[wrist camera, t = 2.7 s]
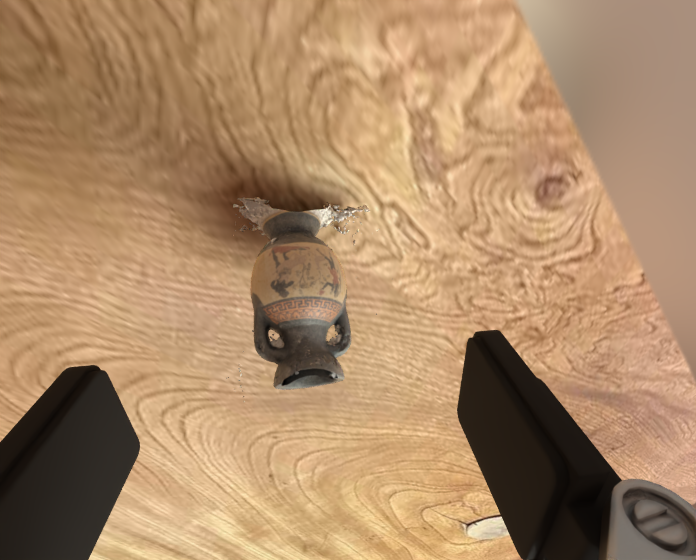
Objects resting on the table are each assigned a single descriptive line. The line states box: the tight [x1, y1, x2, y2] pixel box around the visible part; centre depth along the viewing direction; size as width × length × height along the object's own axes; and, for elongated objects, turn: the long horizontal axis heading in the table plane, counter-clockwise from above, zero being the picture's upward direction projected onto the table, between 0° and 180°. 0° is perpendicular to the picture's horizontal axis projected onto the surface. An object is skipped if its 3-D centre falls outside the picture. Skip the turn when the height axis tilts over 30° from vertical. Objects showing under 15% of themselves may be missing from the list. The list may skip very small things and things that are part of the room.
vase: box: [226, 197, 379, 402], centre depth 13 cm, size 5×5×6 cm
